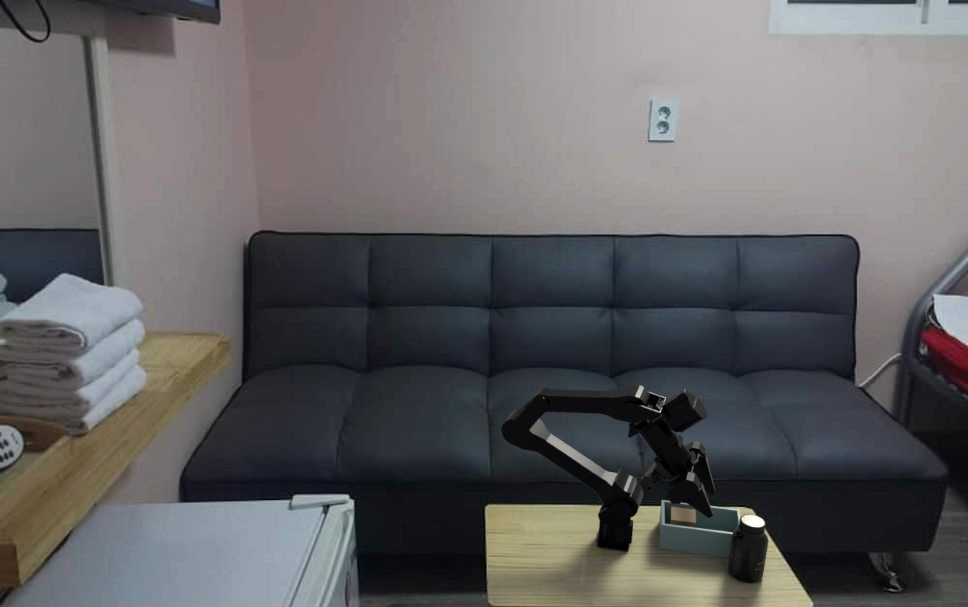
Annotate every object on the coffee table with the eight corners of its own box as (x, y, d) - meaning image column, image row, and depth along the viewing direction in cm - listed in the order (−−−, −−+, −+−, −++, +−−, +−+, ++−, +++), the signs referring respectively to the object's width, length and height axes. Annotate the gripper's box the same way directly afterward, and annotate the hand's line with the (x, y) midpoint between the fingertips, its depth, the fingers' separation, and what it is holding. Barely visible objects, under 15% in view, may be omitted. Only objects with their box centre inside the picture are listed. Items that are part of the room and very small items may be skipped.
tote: (659, 548, 168) (661, 524, 166) (659, 522, 177) (661, 499, 176) (740, 559, 165) (744, 535, 164) (736, 532, 174) (739, 509, 173)
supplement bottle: (765, 586, 157) (773, 533, 153) (728, 581, 158) (735, 528, 155) (760, 565, 164) (768, 513, 160) (725, 560, 165) (732, 508, 161)
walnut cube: (668, 540, 170) (671, 519, 168) (668, 526, 175) (671, 506, 173) (693, 543, 169) (696, 522, 167) (692, 530, 174) (695, 509, 172)
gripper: (637, 442, 172) (682, 501, 172) (623, 483, 155) (673, 548, 155) (681, 416, 167) (727, 476, 168) (672, 455, 150) (723, 522, 150)
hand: (712, 505), depth 160 cm, fingers open, 9 cm apart
